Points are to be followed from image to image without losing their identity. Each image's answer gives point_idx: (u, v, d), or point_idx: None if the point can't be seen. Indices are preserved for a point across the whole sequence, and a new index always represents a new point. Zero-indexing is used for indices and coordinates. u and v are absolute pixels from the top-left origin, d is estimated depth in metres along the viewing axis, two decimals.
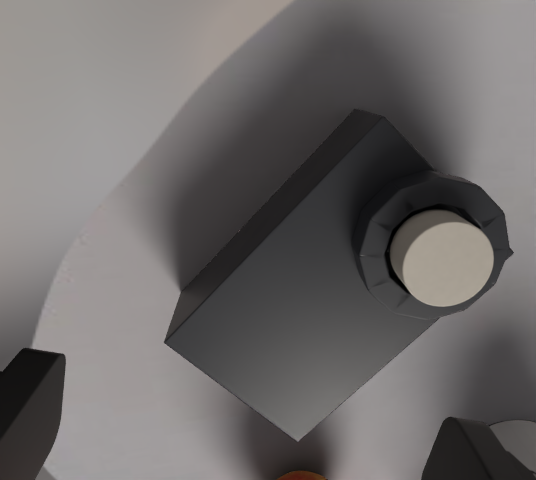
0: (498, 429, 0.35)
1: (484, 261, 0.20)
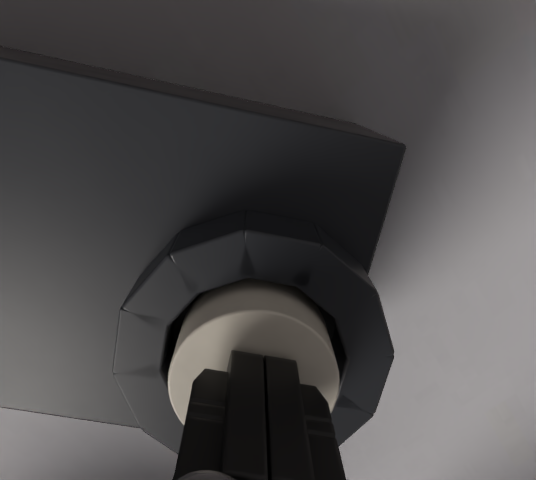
0: None
1: None
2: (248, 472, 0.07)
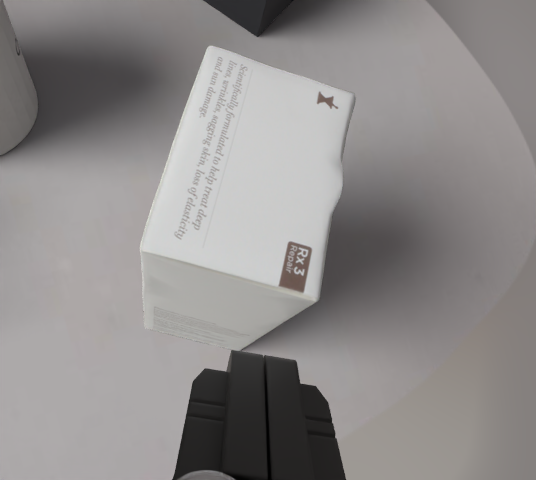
0: None
1: None
2: (248, 472, 0.07)
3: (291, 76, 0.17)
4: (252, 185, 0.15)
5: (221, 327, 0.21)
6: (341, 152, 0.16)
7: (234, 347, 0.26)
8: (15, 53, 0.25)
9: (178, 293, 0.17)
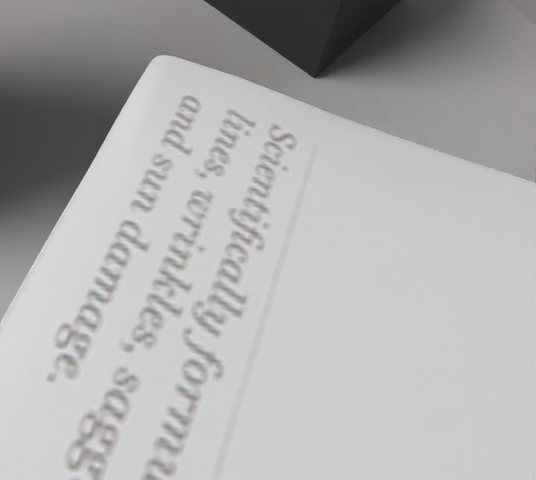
0: None
1: None
2: None
3: (463, 171, 0.04)
4: None
5: None
6: None
7: None
8: None
9: None
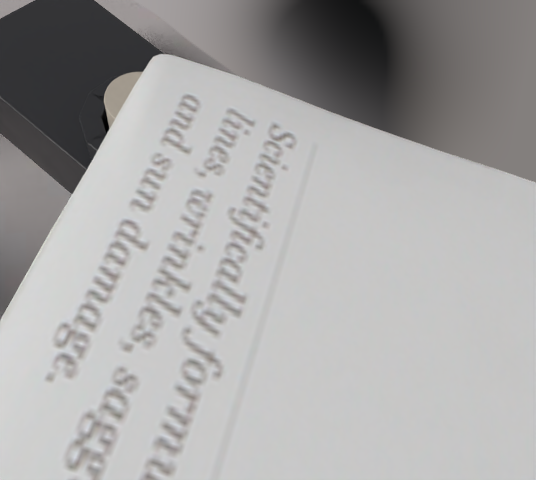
0: None
1: None
2: None
3: (463, 171, 0.04)
4: None
5: None
6: None
7: None
8: None
9: None
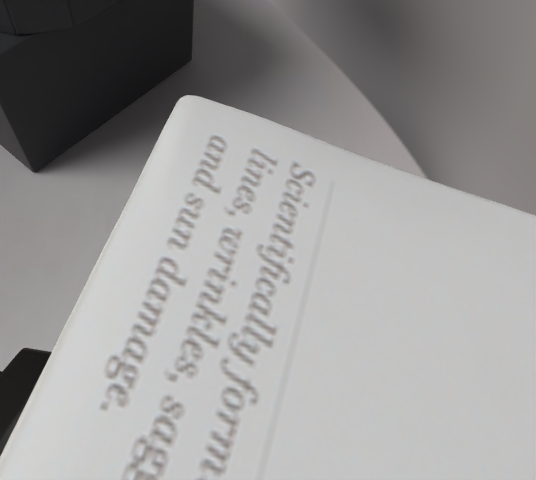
0: None
1: None
2: None
3: (466, 204, 0.05)
4: None
5: None
6: None
7: None
8: None
9: None
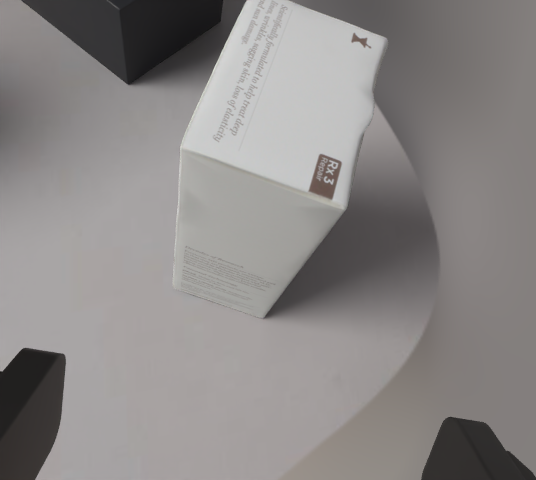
0: None
1: None
2: None
3: (328, 18, 0.18)
4: (287, 103, 0.16)
5: (248, 273, 0.22)
6: (373, 85, 0.17)
7: (259, 310, 0.26)
8: None
9: (211, 216, 0.18)
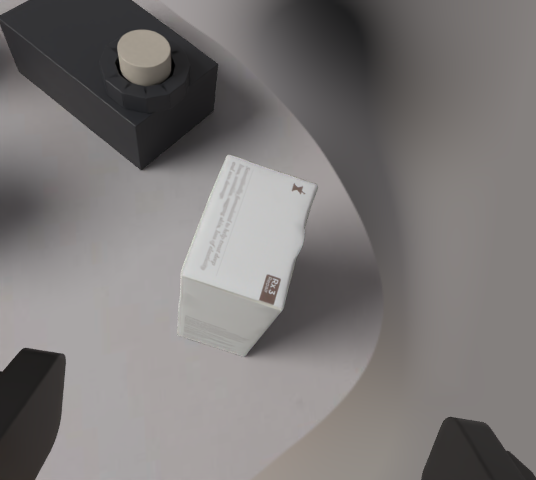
0: None
1: (145, 63, 0.36)
2: None
3: (277, 173, 0.27)
4: (247, 240, 0.25)
5: (229, 332, 0.31)
6: (304, 221, 0.26)
7: (240, 352, 0.36)
8: None
9: (201, 304, 0.27)
